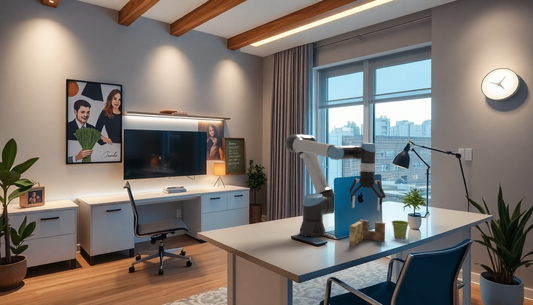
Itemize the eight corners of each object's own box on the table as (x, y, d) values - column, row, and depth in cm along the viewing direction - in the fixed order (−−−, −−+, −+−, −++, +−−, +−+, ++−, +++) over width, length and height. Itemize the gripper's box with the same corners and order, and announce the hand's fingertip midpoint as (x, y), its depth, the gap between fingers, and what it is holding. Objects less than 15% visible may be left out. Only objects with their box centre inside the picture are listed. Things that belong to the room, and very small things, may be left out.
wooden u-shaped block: (358, 237, 204) (359, 220, 203) (360, 236, 205) (360, 219, 205) (383, 241, 196) (384, 223, 196) (384, 240, 198) (385, 222, 197)
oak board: (354, 245, 188) (354, 226, 187) (349, 244, 189) (349, 226, 189) (362, 239, 199) (363, 221, 199) (358, 238, 201) (358, 221, 200)
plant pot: (397, 239, 200) (397, 224, 200) (388, 235, 209) (388, 220, 209) (411, 238, 202) (412, 223, 202) (402, 234, 211) (402, 220, 211)
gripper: (343, 169, 198) (341, 207, 199) (390, 173, 188) (388, 212, 189) (346, 168, 205) (344, 205, 206) (391, 171, 194) (390, 210, 196)
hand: (365, 209), depth 197 cm, fingers open, 13 cm apart
